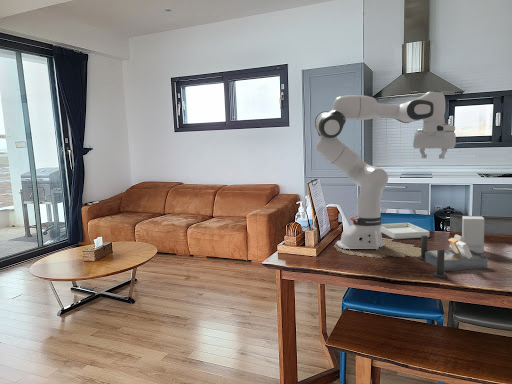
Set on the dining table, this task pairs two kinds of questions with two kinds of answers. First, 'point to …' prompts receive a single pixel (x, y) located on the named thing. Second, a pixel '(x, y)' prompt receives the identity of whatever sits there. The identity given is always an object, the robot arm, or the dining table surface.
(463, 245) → the paddle
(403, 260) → the dining table surface
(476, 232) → the skincare box
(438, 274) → the cord posts
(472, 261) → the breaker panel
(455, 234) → the paddle
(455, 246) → the paddle amber
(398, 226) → the tray
